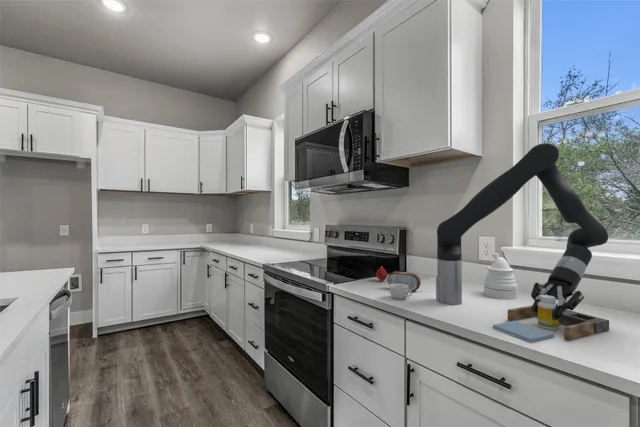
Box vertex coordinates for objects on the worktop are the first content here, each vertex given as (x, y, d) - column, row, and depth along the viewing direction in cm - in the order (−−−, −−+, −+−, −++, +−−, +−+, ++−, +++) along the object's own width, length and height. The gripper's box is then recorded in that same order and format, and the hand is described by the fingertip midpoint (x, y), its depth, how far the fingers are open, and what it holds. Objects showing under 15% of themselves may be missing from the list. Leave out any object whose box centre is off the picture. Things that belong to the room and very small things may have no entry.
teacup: (386, 298, 132) (385, 285, 132) (396, 295, 137) (396, 282, 137) (406, 303, 125) (406, 289, 125) (416, 299, 130) (416, 286, 130)
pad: (514, 323, 101) (514, 320, 101) (554, 337, 90) (554, 333, 90) (492, 328, 97) (492, 324, 97) (531, 342, 86) (531, 339, 86)
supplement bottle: (542, 322, 102) (541, 293, 102) (561, 327, 97) (561, 296, 97) (534, 325, 99) (534, 295, 99) (554, 331, 94) (554, 299, 94)
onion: (375, 280, 167) (374, 265, 167) (385, 280, 168) (385, 265, 168) (377, 282, 161) (377, 267, 161) (388, 282, 162) (388, 267, 162)
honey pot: (478, 294, 137) (478, 254, 137) (491, 289, 145) (491, 251, 145) (510, 300, 127) (510, 257, 127) (522, 295, 135) (522, 254, 135)
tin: (420, 291, 143) (420, 273, 143) (419, 293, 140) (418, 274, 140) (389, 287, 151) (389, 270, 151) (387, 289, 148) (387, 271, 148)
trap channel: (545, 312, 112) (545, 302, 112) (609, 330, 95) (609, 318, 95) (507, 320, 104) (507, 309, 104) (568, 340, 87) (568, 328, 87)
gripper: (539, 262, 107) (516, 300, 103) (588, 269, 94) (564, 313, 90) (549, 276, 110) (527, 314, 105) (598, 285, 96) (575, 329, 92)
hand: (544, 314), depth 97 cm, fingers closed on supplement bottle, 5 cm apart
